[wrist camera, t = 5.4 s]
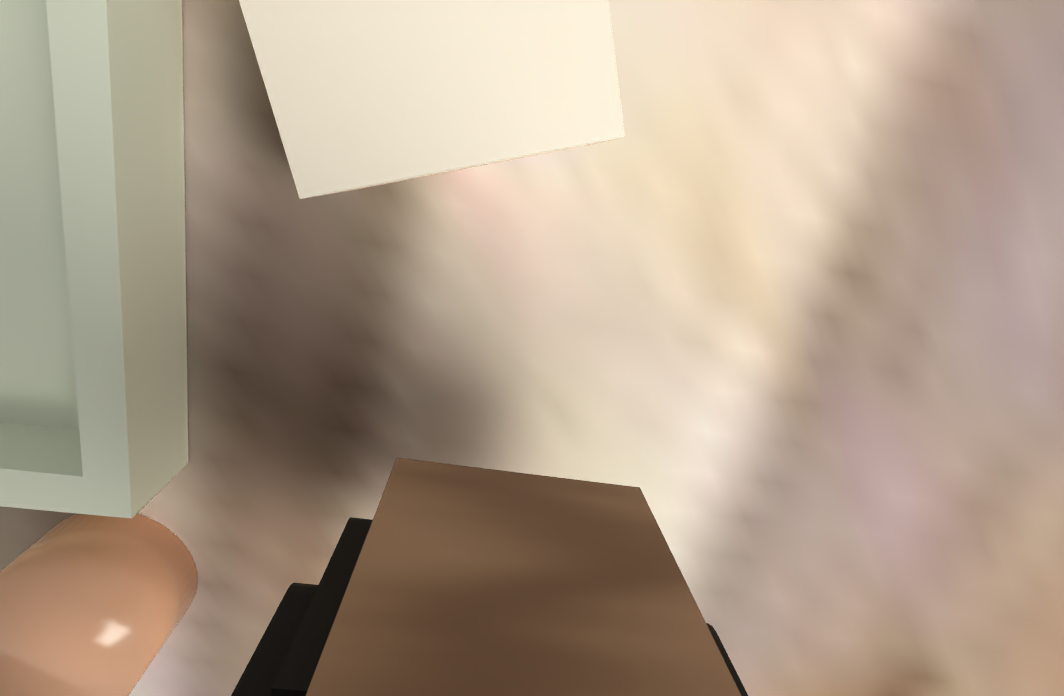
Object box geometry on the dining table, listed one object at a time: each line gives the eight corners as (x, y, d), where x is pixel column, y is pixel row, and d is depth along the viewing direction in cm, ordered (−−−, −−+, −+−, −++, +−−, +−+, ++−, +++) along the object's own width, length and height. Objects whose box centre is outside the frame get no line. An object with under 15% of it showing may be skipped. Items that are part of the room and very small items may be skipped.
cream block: (561, -39, 13) (593, -128, 9) (587, 145, 14) (625, 136, 10) (301, 9, 13) (220, -59, 9) (351, 190, 14) (299, 198, 10)
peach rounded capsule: (198, 515, 16) (136, 589, 13) (199, 634, 17) (143, 725, 15) (33, 500, 16) (-68, 574, 13) (47, 624, 17) (-43, 717, 14)
